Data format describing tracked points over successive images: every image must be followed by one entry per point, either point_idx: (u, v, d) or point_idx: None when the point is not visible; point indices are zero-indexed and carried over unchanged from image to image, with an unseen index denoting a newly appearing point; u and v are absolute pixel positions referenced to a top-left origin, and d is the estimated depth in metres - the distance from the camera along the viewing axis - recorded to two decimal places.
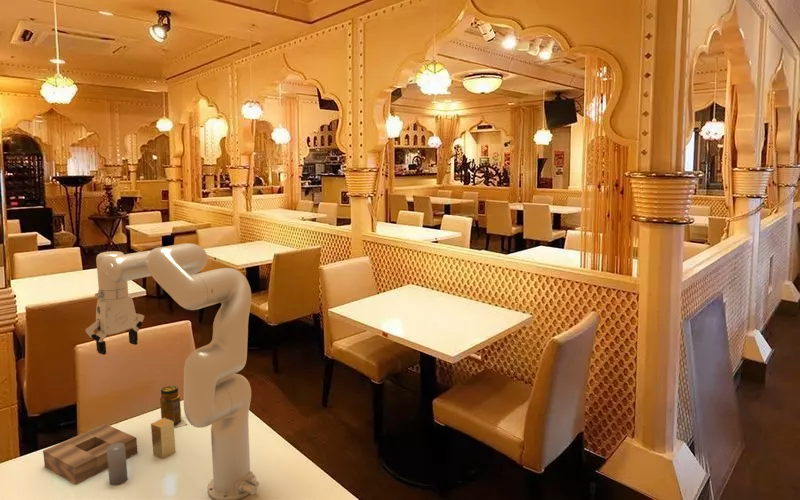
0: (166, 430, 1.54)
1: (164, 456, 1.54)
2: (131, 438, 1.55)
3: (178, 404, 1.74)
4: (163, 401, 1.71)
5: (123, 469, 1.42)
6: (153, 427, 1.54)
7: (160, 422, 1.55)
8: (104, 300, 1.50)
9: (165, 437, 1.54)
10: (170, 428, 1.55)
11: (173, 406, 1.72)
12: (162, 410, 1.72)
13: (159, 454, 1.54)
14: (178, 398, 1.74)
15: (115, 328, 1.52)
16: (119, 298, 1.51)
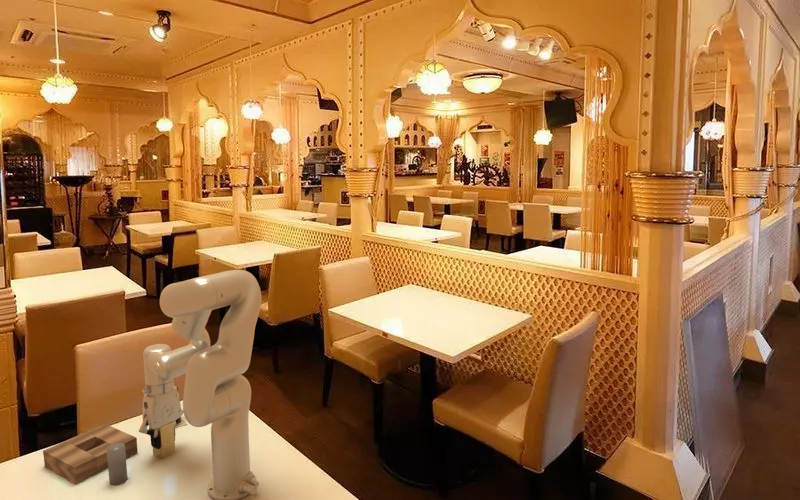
0: (166, 430, 1.54)
1: (164, 456, 1.54)
2: (131, 438, 1.55)
3: None
4: None
5: (123, 469, 1.42)
6: None
7: None
8: (151, 395, 1.50)
9: (165, 437, 1.54)
10: (170, 428, 1.55)
11: None
12: None
13: (159, 454, 1.54)
14: None
15: (162, 422, 1.52)
16: (166, 392, 1.51)
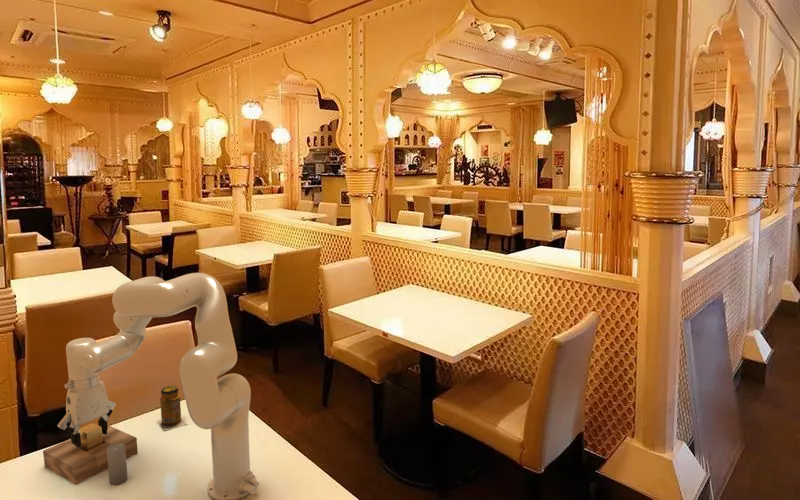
0: (93, 436, 1.50)
1: None
2: (131, 438, 1.55)
3: (178, 404, 1.74)
4: (163, 401, 1.71)
5: (123, 469, 1.42)
6: (80, 433, 1.50)
7: (88, 427, 1.51)
8: (74, 390, 1.45)
9: (92, 443, 1.50)
10: (98, 434, 1.51)
11: (173, 407, 1.72)
12: (162, 410, 1.72)
13: None
14: (178, 398, 1.74)
15: (86, 418, 1.47)
16: (90, 387, 1.47)
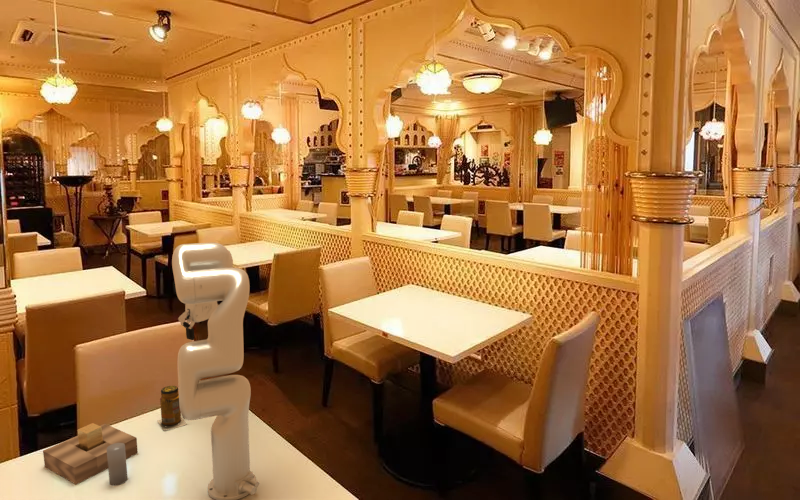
0: (93, 436, 1.50)
1: None
2: (131, 438, 1.55)
3: (178, 404, 1.74)
4: (163, 401, 1.71)
5: (123, 469, 1.42)
6: (80, 433, 1.50)
7: (88, 427, 1.51)
8: None
9: (92, 443, 1.50)
10: (98, 434, 1.51)
11: (173, 407, 1.72)
12: (162, 410, 1.72)
13: None
14: (178, 398, 1.74)
15: (202, 317, 1.73)
16: None
